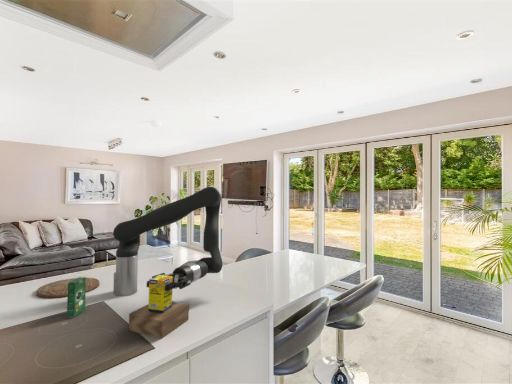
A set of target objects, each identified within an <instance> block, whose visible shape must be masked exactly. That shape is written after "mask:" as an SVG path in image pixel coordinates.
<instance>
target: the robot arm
mask: <svg viewBox="0 0 512 384" xmlns="http://www.w3.org/2000/svg"><path fill="white" fill-rule="evenodd" d="M221 202H222V194H221V192H220V191H219V190H218V189H217V188H216V187H214V186H206V187H204V188H202V189H200V190H199V191H196V192H195V193H193V194H191V195H188V196H186V197H183V198H180V199H178V200H175V201H172V202H170V203H167V204H164V205H162V206H160V207H158V208H156V209H153V210H151V211H149V212H148V213H145V214H143V215H142V216H139V217H136V218H133V219H129V220H125V221H121V222H120V223H118V224H116V226H115V227H114V229H113V232H112V235H113V238H114V239H115V240H116V241H118V242H119V244H118V247H117V249H116V251H115V272H114V273H113V294H114V295H116V296H123V297H124V296H131V295H133V294H136V293H137V292H138V273H139V272H138V270H139V269H138V267H139V266H138V265H139V264H138V263H139V262H138V261H139V259H138V258H139V255H138V254H139V249H140V239H141V235H142V234H145V233H147V232H149V231H152V230H153V231H154V230H156V229H160V228H162V227H166V226H169V225H171V224H174V223H176V222H178V221H181V220H182V219H184V218H185V217H187V216H188V215H189V214H191V213H193V212H194V211H197V210H199V209H203V208H205V224H204V230H203V247H202V248H203V251H204V252H207V253H209V254H210V256H209V257H207V256H206V257H202V258H200V259H199V260H197V261H195V262H192V263H188V264H184V265H182V266H178V267H176V268H174V270H173V271H172V273H171V272H170V273H168V274H166V273H165V272H162V273H158V274H155V275H153V276H151V279H152V278H154V277H156V276H158V275H164V276H173V282H171V283H169V284H166V285H165V291H169V290H172V291H173V289H174V290H177V289H179V290H182V289H184V288H187V287H189V286H190V285H191V284H192V283H194V282H196V281H198V280H200V279H203V278H204V277H205V276H207V274H218V273H219V274H220V272H221V270H223V269H222V268H223V267H224V266H223V259H222V255H221V251H220V245H219V243H220V242H219V241H220V240H219V238H220V236H219V234H220V233H219V231H220V229H219V220H220V219H219V217H220V210H221ZM146 288H149V280H147V281H146ZM113 294H112V295H113Z"/></svg>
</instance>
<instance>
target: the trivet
mask: <svg viewBox="0 0 512 384" xmlns="http://www.w3.org/2000/svg"><path fill="white" fill-rule="evenodd" d="M76 278H77V277H73V278H65V279H61V280H56V281H53V282H50V283H46V284H44V285H42V286H39V287H38V288H37V289H36V296H37V297H39V298H42V299H63V298H68V282H70V281H72V280H74V279H76ZM99 286H100V280H99V279H97V278H94V277H86V287H85V294H86V293H90V292H91V291H94V290H96V289H97V288H99Z"/></svg>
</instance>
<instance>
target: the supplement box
mask: <svg viewBox="0 0 512 384" xmlns="http://www.w3.org/2000/svg"><path fill="white" fill-rule="evenodd" d="M157 275H158V274H157ZM148 281H149V287H148V303H147V305H148V311H153V312H161V313H163V312H164V311H166V310H167V309H169V308H170V307H172V302H173V289H172V290H169V291H165V285H166V284H169V283H171V282H173V276H164V275H158V276H156V277H154V278H152V277H151V278H149V280H148Z"/></svg>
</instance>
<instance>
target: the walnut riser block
mask: <svg viewBox="0 0 512 384" xmlns="http://www.w3.org/2000/svg"><path fill="white" fill-rule="evenodd" d="M189 311H190V309H189V304H187V303H182V302H177V301H176V302H175V301H172V307H170V308H169V309H167V310H166V311H164V312H163V313H161V312H153V311H148V304H146V305H144V306H142V307H140V308H137V309H135V310H134V311H131V312H130V313H128V330H129V331H130V332H135V333H137V334H143V335H146V336H151V337H154V338H158V339H164V338H166V337H167V336H168V335H169V334H171V333H172V332H173V331H175V330H177V329H178V328H179V327H181V326H182V325H184V324H185V323H187V322H188V321H189Z"/></svg>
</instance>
